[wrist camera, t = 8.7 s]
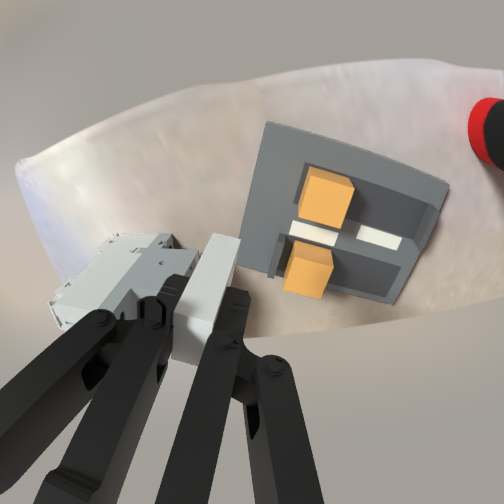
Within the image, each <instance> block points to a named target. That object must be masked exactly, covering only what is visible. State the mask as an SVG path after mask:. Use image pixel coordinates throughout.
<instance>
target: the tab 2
mask: <svg viewBox="0 0 504 504" xmlns="http://www.w3.org/2000/svg"><path fill="white" fill-rule="evenodd" d="M333 268H334V266H333V260H332V254H331V250H329V249H325V248H322V247H318V246H314V245H311V244H307V243H303V242H300V241H296V240H295V242H294V245H293V248H292V251H291V254H290V257H289V260H288V263H287V266H286V269H285V274H284V285H283V290H286V291H290V292H294V293H298V294H302V295H306V296H310V297H314V298H318V299H320V298H321V296H322V294H323V291H324V289H325V287H326V284H327V282H328V280H329V277H330V275H331V273H332V270H333Z"/></svg>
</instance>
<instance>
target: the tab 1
mask: <svg viewBox="0 0 504 504" xmlns="http://www.w3.org/2000/svg"><path fill="white" fill-rule="evenodd" d="M354 189H355V188H354V187H353V185H352V183H351V181H350V179H349V178H347V177H344V176H341V175H338V174H334V173H331V172H328V171H324V170H321V169H318V168H314V167H311V166H309V169H308V173H307V176H306V180H305V183H304V186H303V190H302V193H301V196H300V200H299V203H298V217H300V218H304V219H307V220H311V221H314V222H318V223H321V224H325V225H328V226H332V227H335V228H339V229H340V228H341V225H342V223H343V220H344V217H345V215H346V212H347V209H348V206H349V203H350V201H351V198H352V195H353V192H354Z"/></svg>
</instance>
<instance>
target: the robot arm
mask: <svg viewBox="0 0 504 504" xmlns="http://www.w3.org/2000/svg"><path fill="white" fill-rule="evenodd" d="M240 242H241V239H238V238H234V237H229V236H225V235H221V234H217V233H213V235H212V237H211V239H210V241H209V242H208V244H207V246H206V248H205V250H204V252H203V254H202V256H201V258H200V260H199V262H198V264H197V266H196V268H195V270H194V272H193V274H192V276H191V278H190V277H186V276H183V275H179V274H175V273H174V274H173V275H171V276H170V277H168V278H167V279H166V280H165V282H164V284H163V286H162V287H161V289H160V290H159V292H158V294H157V295H156V296H145V297H143V298H141V299H139V300H138V301H137V319H134V320H119V319H116V317H115V315H114V314H113V313H112V312H111V311H109V310H106V309H95V310H92V311H91V312H89V313H88V314H86V315H85V316H84V317H83V318H81V319H80V320H79V321H78V322H77V323H75V324H74V325H73V326H72V327H71V328H70V329H68V330H67V331H66V332H65V333H64V334H62V335H61V336H60V337H59V338H58V339H57V340H55V341H54V342H53V343H52V344H51V345H50V346H48V347H47V348H46V349H45V350H44V351H43V352H42V353H40V354H39V355H38V356H37V357H36V358H35V359H34V360H33V361H31V362H30V363H29V364H28V365H27V366H26V367H25V368H24V369H22V370H21V371H20V372H19V373H18V374H17V375H16V376H15V377H14V378H12V379H11V380H10V381H9V382H8V383H7V384H6V385H5V386H4V387H3V388H2V389H1V390H0V494H2V493H4V492H5V491H6V490H8V489H9V488H11V487H12V486H13V485H14V484H15V483H16V482H17V481H18V480H19V479H20V478H21V476H22V475H23V474H24V473H25V472H26V471H27V469H29V468H30V466H31V465H32V464H33V463H34V462H35V461H36V460H37V458H38V457H39V456H40V455H41V454H42V453H43V452H44V451H45V450H46V448H47V447H48V446H49V445H50V444H51V443H52V442H53V441H54V439H55V438H56V437H57V436H58V435H59V434H60V433H61V432H62V431H63V430H64V428H65V427H66V426H67V425H68V424H69V423H70V422H71V421H72V420H73V419H74V417H75V416H76V415H77V414H78V413H79V412H80V411H81V410H82V409H83V407H84V406H85V405H86V404H87V403H88V402H89V401H90V400H91V399H92V400H91V402H90V404H89V406H88V408H87V410H86V412H85V414H84V416H83V418H82V420H81V422H80V424H79V426H78V428H77V430H76V432H75V434H74V436H73V438H72V440H71V442H70V444H69V446H68V448H67V450H66V452H65V454H64V456H63V459H62V461H61V463H60V465H59V466H58V467H57V468H56V469H54V470H52V471H50V472H49V473H48V474H47V475H46V477H45V479H44V480H43V482H42V484H41V487H40V489H39V491H38V494H37V496H36V498H35V500H34V503H33V504H116V503H117V500H118V497H119V495H120V492H121V489H122V486H123V483H124V480H125V478H126V475H127V472H128V469H129V467H130V464H131V461H132V459H133V456H134V453H135V450H136V448H137V445H138V442H139V440H140V436H141V435H142V432H143V429H144V427H145V424H146V421H147V419H148V416H149V413H150V411H151V408H152V406H153V403H154V401H155V398H156V395H157V393H158V390H159V388H160V385H161V383H162V380H163V378H164V375H165V373H166V370H167V366H168V359H169V356H170V354H171V359H175V360H178V361H182V362H185V363H188V364H192V365H196V366H198V369H197V372H196V375H195V378H194V381H193V384H192V387H191V390H190V393H189V397H188V399H187V403H186V405H185V409H184V412H183V415H182V418H181V421H180V424H179V427H178V431H177V434H176V437H175V440H174V443H173V446H172V450H171V453H170V456H169V459H168V462H167V465H166V469H165V472H164V475H163V478H162V482H161V485H160V488H159V491H158V495H157V498H156V501H155V504H208V500H209V495H210V491H211V486H212V482H213V477H214V473H215V468H216V464H217V459H218V455H219V450H220V446H221V441H222V436H223V431H224V427H225V423H226V418H227V413H228V409H229V404H230V399H231V397H232V398H234V399H236V400H238V401H240V402H241V403H243V410H244V419H245V427H246V435H247V443H248V451H249V459H250V467H251V475H252V483H253V490H254V497H255V504H324V501H323V497H322V492H321V488H320V484H319V480H318V476H317V471H316V467H315V463H314V459H313V454H312V450H311V446H310V442H309V438H308V434H307V430H306V426H305V421H304V417H303V413H302V409H301V405H300V401H299V397H298V393H297V389H296V385H295V381H294V377H293V373H292V369H291V367H290V365H289V363H288V362H287V361H286V360H285V359H283V358H281V357H279V356H276V355H266V356H263V357H262V358H261V357H259V356H257V355H255V354H253V353H252V352H250V351H249V350H248V349H247V348H246V346H245V345H244V342H243V335H244V330H245V325H246V320H247V316H248V311H249V306H250V301H251V298H250V296H249V293H248V291H244V290H240V289H236V288H232V287H230V286H231V282H232V279H233V274H234V269H235V265H236V260H237V255H238V251H239V246H240Z"/></svg>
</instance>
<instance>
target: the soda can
mask: <svg viewBox="0 0 504 504" xmlns="http://www.w3.org/2000/svg"><path fill="white" fill-rule="evenodd" d="M468 134H469V140H470V143H471V146H472V147H473V149H474V151H475V153H476V154H477V155H478V156H479V157H480V158H481V159H482V160H484V161H486V162H488V163H490V164H492V165H493V166H495V167H497V168H499V169H501V170H503V171H504V100H503V99H497V98H485V99H482V100H480V101H479V102H478V103H477V104H476V105H475V106H474V107H473V109H472V111H471V113H470V117H469V122H468Z"/></svg>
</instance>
